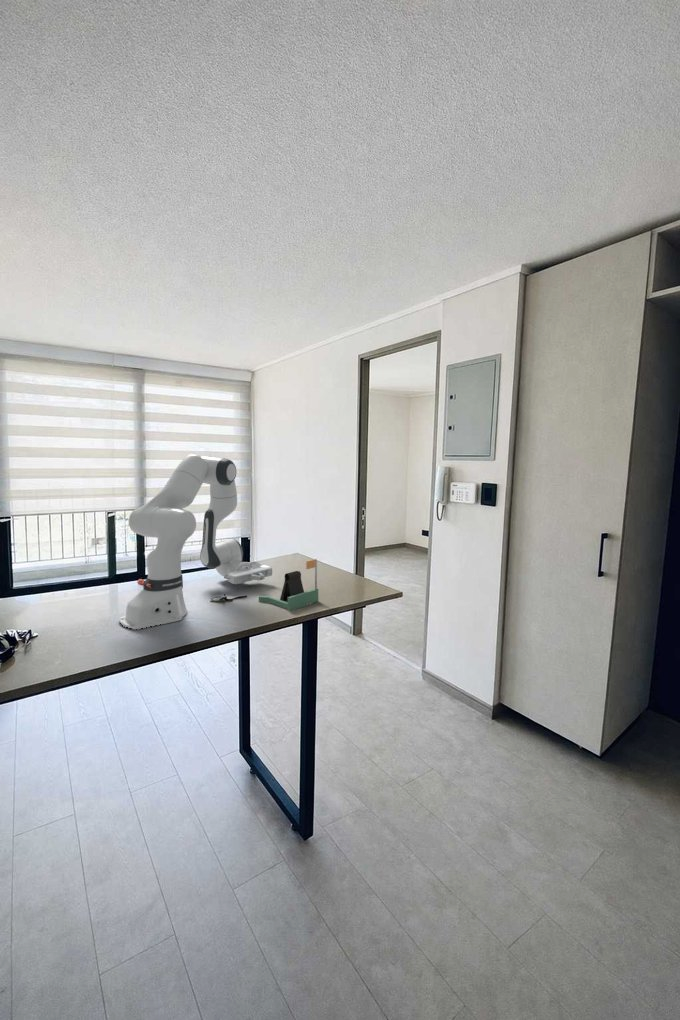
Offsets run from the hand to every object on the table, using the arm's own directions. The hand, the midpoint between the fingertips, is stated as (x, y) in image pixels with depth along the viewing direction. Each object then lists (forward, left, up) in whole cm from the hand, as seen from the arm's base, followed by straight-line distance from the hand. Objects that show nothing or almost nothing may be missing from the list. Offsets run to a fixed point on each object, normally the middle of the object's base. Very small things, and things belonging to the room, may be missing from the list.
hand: (261, 578), depth 187 cm
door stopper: (0, -19, -6) cm, 20 cm away
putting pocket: (0, -17, -6) cm, 18 cm away
